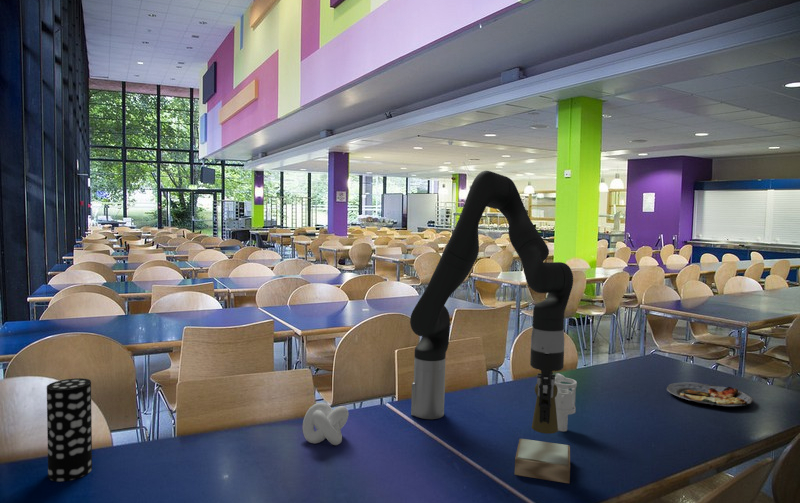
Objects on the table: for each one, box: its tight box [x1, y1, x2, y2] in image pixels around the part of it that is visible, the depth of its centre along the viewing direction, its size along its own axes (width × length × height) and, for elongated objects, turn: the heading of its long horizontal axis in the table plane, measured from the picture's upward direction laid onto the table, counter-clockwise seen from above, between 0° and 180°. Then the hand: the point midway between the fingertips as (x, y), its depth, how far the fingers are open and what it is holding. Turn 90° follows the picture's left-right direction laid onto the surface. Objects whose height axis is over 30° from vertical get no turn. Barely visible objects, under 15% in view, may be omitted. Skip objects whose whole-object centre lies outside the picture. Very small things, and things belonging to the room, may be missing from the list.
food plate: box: [666, 381, 754, 408], centre depth 179 cm, size 25×23×4 cm
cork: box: [531, 382, 559, 435], centre depth 125 cm, size 6×6×11 cm
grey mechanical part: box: [555, 372, 578, 432], centre depth 149 cm, size 7×7×15 cm
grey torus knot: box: [302, 402, 350, 446], centre depth 138 cm, size 11×12×9 cm
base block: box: [514, 438, 571, 484], centre depth 125 cm, size 12×12×4 cm
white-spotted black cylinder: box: [46, 377, 93, 482], centre depth 118 cm, size 8×8×20 cm
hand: (544, 419), depth 125 cm, fingers closed on cork, 4 cm apart
